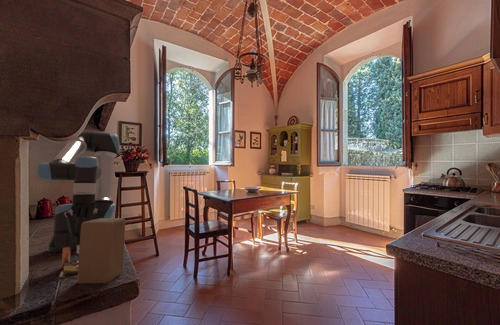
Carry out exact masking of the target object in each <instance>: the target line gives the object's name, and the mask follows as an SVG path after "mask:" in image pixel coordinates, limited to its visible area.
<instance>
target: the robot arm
mask: <svg viewBox="0 0 500 325" xmlns="http://www.w3.org/2000/svg"><path fill="white" fill-rule="evenodd" d="M80 133H81V134H80V135H79V136H78V137H77V138H75V139H72V140H68V139H67V140H68V141H67V140H66V142H65V146H64V147H63V148H62V149H61V150H60V151H59V153H58V154H57V155H56V156H55V157H54V158H53V159H52V161H51V162H48V161H47V162H41V163H39V165H38V166H37V170H36V174H37V177H38V179H39V180H41V181H42V180H43V181H73V190H72V191H73V192H72V193H73V195H72V201H71V203H66V204H60V205H57V206H56V207H55V211H54V214H53V216H54V219H53V220H54V221H53V232H52V237H51V238H50V240H49V242H48V245H47V249H46V252H48V253H63V248H64V247H71V251H75V250H76V254H78V255H79V248H80V234H81V224H82V223H83V222H86V221H90V220H95V219H100V218H115V214H116V210H117V204H116V203H114V200H113V199H112V197H111V196H112V183H113V169H114V159H115V158H116V157H117V156H118V154H120V153H121V145H120V139H119V138H120V136H119V135H118V134H116V133H110V132H99V131H98V132H95V131H83V132H80ZM85 152H91V153H93V155H94V156H89V155H88V156H87V155H81V154H84V153H85Z"/></svg>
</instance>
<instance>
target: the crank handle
mask: <svg viewBox="0 0 500 325" xmlns="http://www.w3.org/2000/svg"><path fill="white" fill-rule="evenodd" d="M71 251H72V250H71V247H64V248H63V252H61V253H62V254H61V268H63V270H64V273H65V274H72V273H78V262H79V259H78V260H73V261H72V262H71V253H72V252H71Z"/></svg>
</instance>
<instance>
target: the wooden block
mask: <svg viewBox="0 0 500 325" xmlns="http://www.w3.org/2000/svg"><path fill="white" fill-rule="evenodd" d="M125 236H126V219H125V218H123V217H116V218H115V217H114V218H100V219H95V220H90V221H86V222H83V223H82V224H81V234H80V248H79V254H78V260H79V262H78V275H76V277H77V280H76V283H77V284H105V283H109V282H111V281H113V280H114V279H115V278H116V277H118V276H120V275H121V274H122V273H123V272H124V255H125V254H124V253H125Z"/></svg>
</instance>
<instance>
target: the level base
mask: <svg viewBox="0 0 500 325" xmlns="http://www.w3.org/2000/svg"><path fill="white" fill-rule="evenodd" d="M73 276H78V273H72V274H65V273H64V269H62V270H61V271H60V273H59V274H58V276H57V277H56V279H59V278H66V277H73Z"/></svg>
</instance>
